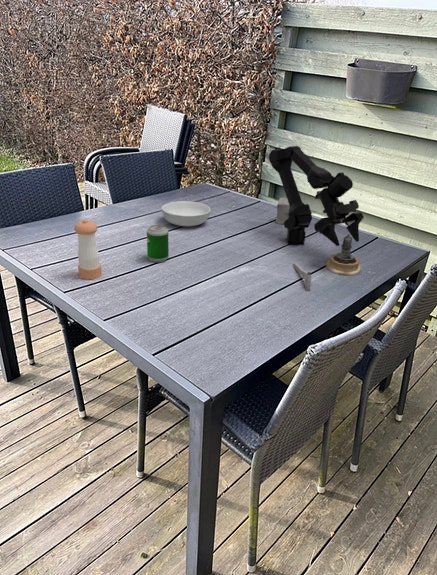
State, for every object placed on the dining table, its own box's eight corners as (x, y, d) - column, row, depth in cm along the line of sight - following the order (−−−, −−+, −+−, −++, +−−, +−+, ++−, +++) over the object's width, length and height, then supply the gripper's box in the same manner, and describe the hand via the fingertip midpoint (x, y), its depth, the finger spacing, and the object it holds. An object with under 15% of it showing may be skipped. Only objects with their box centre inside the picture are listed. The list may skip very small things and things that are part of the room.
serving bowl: (209, 232, 198) (210, 216, 195) (159, 230, 198) (158, 214, 194) (210, 216, 216) (211, 201, 213) (164, 214, 216) (164, 199, 213)
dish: (331, 275, 165) (333, 266, 163) (322, 261, 175) (323, 252, 174) (365, 275, 166) (367, 266, 164) (353, 261, 176) (355, 252, 175)
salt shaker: (338, 260, 174) (343, 229, 168) (354, 264, 171) (359, 233, 165) (332, 266, 169) (337, 234, 164) (348, 270, 167) (354, 238, 161)
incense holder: (274, 224, 209) (277, 201, 205) (277, 218, 217) (279, 196, 212) (297, 227, 207) (300, 204, 203) (299, 221, 215) (302, 198, 210)
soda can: (172, 257, 173) (172, 226, 168) (161, 265, 167) (161, 232, 162) (154, 253, 176) (153, 222, 170) (143, 260, 170) (142, 228, 164)
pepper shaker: (81, 281, 153) (76, 224, 145) (76, 272, 159) (70, 217, 150) (104, 277, 157) (99, 222, 148) (98, 268, 162) (93, 215, 154)
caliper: (309, 291, 154) (312, 273, 151) (306, 291, 154) (309, 273, 151) (295, 265, 172) (297, 249, 169) (292, 265, 172) (294, 249, 169)
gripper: (324, 195, 158) (342, 237, 154) (364, 189, 166) (382, 229, 163) (306, 211, 167) (322, 251, 164) (345, 204, 176) (361, 242, 173)
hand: (348, 243), depth 166 cm, fingers open, 9 cm apart
